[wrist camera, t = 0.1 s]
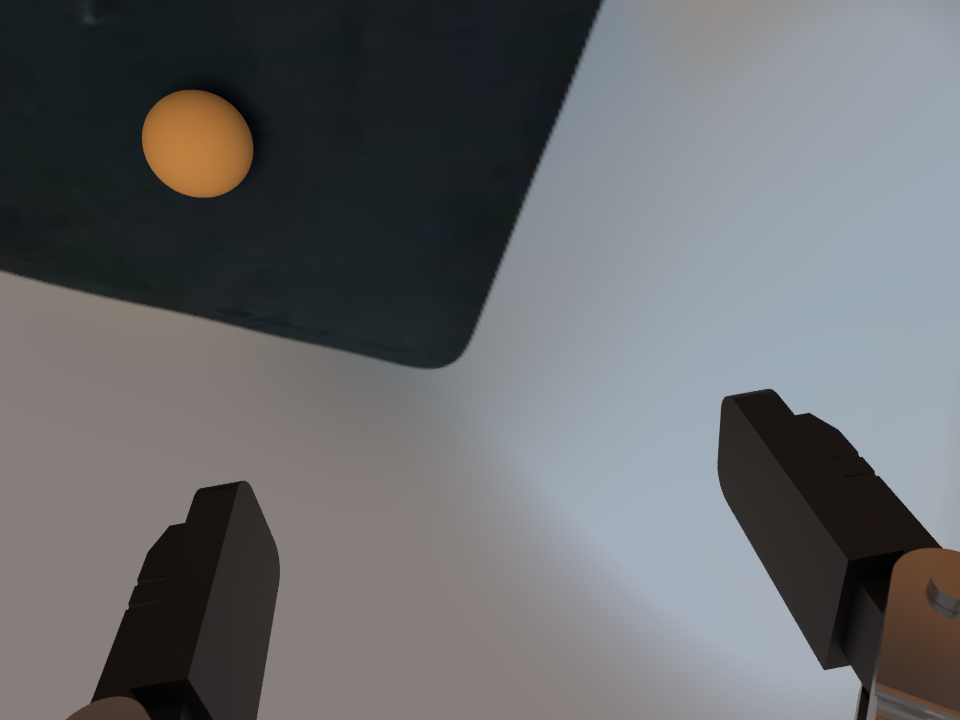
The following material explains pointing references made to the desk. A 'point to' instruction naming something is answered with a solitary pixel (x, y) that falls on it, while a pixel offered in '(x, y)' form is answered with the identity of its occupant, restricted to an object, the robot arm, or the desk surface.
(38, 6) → the desk surface
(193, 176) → the ball
